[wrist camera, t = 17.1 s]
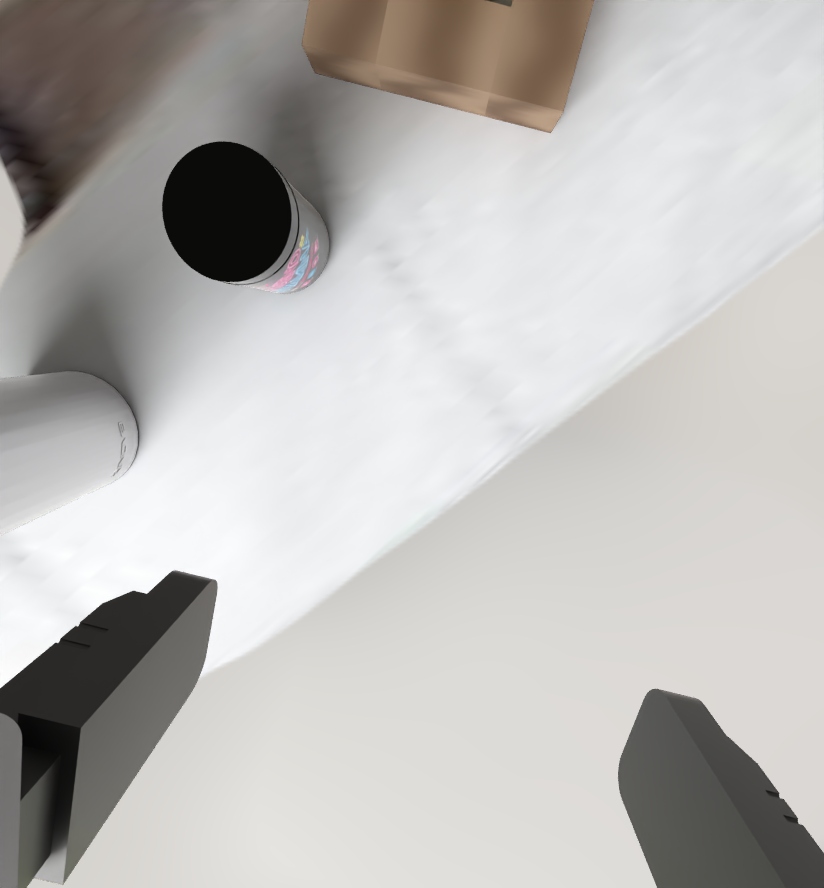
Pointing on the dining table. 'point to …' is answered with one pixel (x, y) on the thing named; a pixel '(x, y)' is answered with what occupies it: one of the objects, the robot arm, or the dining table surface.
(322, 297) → the dining table surface
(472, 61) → the walnut pocket block
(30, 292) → the dining table surface
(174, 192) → the supplement container
